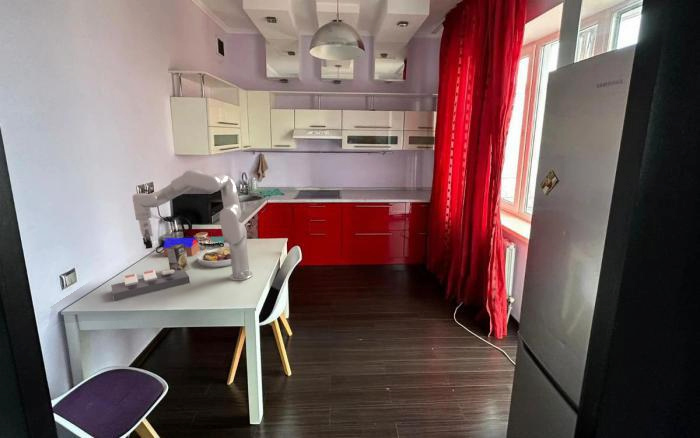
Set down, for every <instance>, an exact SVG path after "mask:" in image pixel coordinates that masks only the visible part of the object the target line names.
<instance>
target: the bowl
mask: <svg viewBox="0 0 700 438" xmlns="http://www.w3.org/2000/svg"><path fill="white" fill-rule="evenodd" d="M214 248H215V249H211V248H210V249H207V250H204V251H203V252H201V253H199V254H198V255H197V261H198V263H199V264H200V265H202V266H203V267H208V268H223V267H228V266H231V257H230V247H229V246H220V247H214Z"/></svg>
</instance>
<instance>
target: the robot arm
mask: <svg viewBox="0 0 700 438" xmlns="http://www.w3.org/2000/svg"><path fill="white" fill-rule="evenodd" d="M191 189H196V190H201V191H205V192H210V193H215V192H218V191H220V192H221V200H222V204H223V205H222V206H223V208H222V209H221V211H220V213H219V223H220V227H221V233H222V236H223V238H224V240H225V242H226V243H227V244H229V246H228V247H230V257H231V265H230V267H231V272H232V273H231V274H230V275H229V279H230V280H232V281H245V280H248V279H250V278H252V277H253V272H252V271H250V264H249V262H250V261H249V252H248V240H247V239H248V234H247V233H248V232H247V228H246V226H245V225H244V224H243V223H242V222H239V220H240V218H241V217H242V209H241V204H240V198H239V195H238V188H237V185H236V183H235V181H234V180H233V179H232V178H231V176H229V175H227V174H224V173H214V174H212V175H211V174H210V175H209V174H205V173H204V172H203V170H201V169H199V168H192V169H188V170H186V171H185V172H183V174H182V175H179V176H178V177H176V178H175V179H173V180H171V182H170V184H168V185H167V186H165V187H163V188H162V189H160V190H158V191H154V192H151V193H149V194H147V193H145V192H140V193H134V194H133V195H132V203H133V209H134V213H135V220H136V221H138V224H139V229H140V234H141V236H142V241H143V245H144V246H145V249H146V250H148V249H152V248H153V242H152V239H151V237H153V236H154V234H153V228H152V223H151V219H152V218H153V217H152V213H151V212H152V210H151V208H153V209H154V208H158V207H159V206H162V205H164V204H166V203H168V202H170V201H172V200H174V199H175V198H177V197H178V196H179V197H180V196H182V195H183V194H185V193H186V192H188V191H190V190H191Z"/></svg>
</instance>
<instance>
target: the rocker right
mask: <svg viewBox="0 0 700 438" xmlns="http://www.w3.org/2000/svg"><path fill="white" fill-rule="evenodd" d="M174 272H175V270H173V269H172V270H170V269H167V270H163V271H160V274H162V275H163V276H164V275H168V274H173V273H174Z"/></svg>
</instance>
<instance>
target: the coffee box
mask: <svg viewBox="0 0 700 438" xmlns="http://www.w3.org/2000/svg"><path fill="white" fill-rule="evenodd" d="M167 253H168V257H167V259H168V260H167V261H168V266H169V270H172V269H173V270H175V271H178V270H183V269H184V270H185V272H186V271H189V268H190V267H189V264H188V263H189V262H188V256H187V254H186V246H185V244H176V245H174V246H172V247H169V248H167Z"/></svg>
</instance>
